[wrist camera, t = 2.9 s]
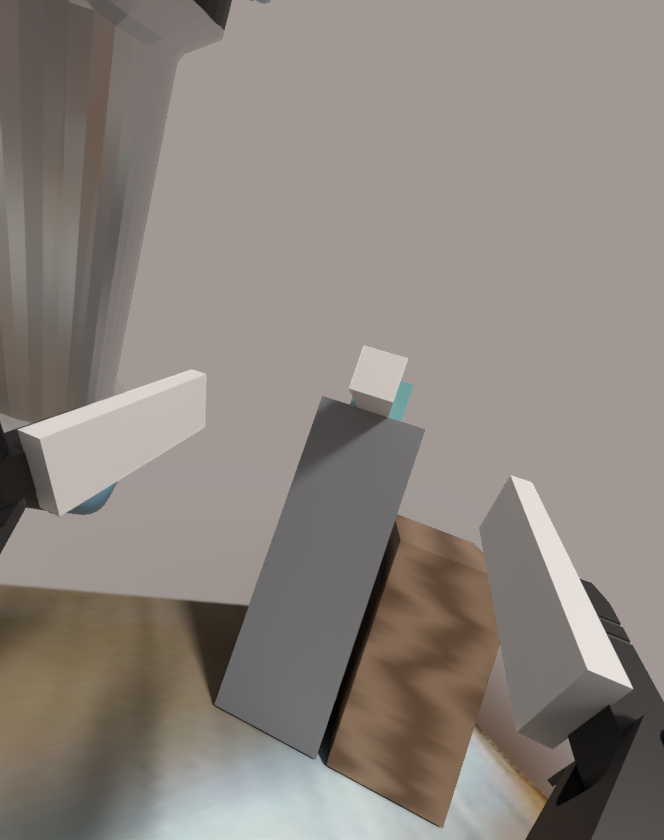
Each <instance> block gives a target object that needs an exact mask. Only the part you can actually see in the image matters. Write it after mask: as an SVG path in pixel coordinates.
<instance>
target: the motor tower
mask: <svg viewBox="0 0 664 840" xmlns="http://www.w3.org/2000/svg"><path fill="white" fill-rule="evenodd" d="M424 432H425V429H422V428H419V427H416V426H412V425H410V424H407V423H404V422H401V421H397V420H394V419H391V418H388V417H385V416H382V415H379V414H376V413H373V412H370V411H367V410H364V409H361V408H358V407H355V406H352V405H348V404H345V403H342V402H339V401H336V400H333V399H330V398H327V397H324V396H322V399H321V401H320V404H319V407H318V410H317V413H316V416H315V419H314V422H313V424H312V427H311V430H310V433H309V436H308V439H307V442H306V444H305V447H304V450H303V453H302V456H301V459H300V461H299V464H298V467H297V470H296V473H295V476H294V479H293V481H292V484H291V487H290V490H289V493H288V496H287V499H286V502H285V504H284V507H283V510H282V513H281V516H280V519H279V521H278V525H277V527H276V530H275V533H274V536H273V539H272V541H271V544H270V547H269V550H268V553H267V556H266V559H265V562H264V564H263V567H262V570H261V573H260V576H259V579H258V582H257V584H256V587H255V590H254V593H253V596H252V599H251V601H250V604H249V607H248V610H247V613H246V616H245V619H244V621H243V624H242V627H241V630H240V633H239V636H238V639H237V641H236V644H235V647H234V650H233V653H232V656H231V659H230V661H229V664H228V667H227V670H226V673H225V676H224V679H223V681H222V684H221V687H220V690H219V693H218V696H217V699H216V701H215V704H214V705H216V706H218V707H220V708H221V709H223V710H225V711H227V712H229V713H231V714H233V715H234V716H236V717H238V718H240V719H242V720H244V721H246V722H247V723H249V724H251V725H253V726H255V727H257V728H258V729H260V730H262V731H264V732H266V733H268V734H270V735H271V736H273V737H275V738H277V739H279V740H281V741H283V742H284V743H286V744H288V745H290V746H292V747H294V748H296V749H297V750H299V751H301V752H303V753H305V754H307V755H308V756H310V757H312V758H314V759H316V757H317V754H318V751H319V748H320V745H321V742H322V739H323V736H324V733H325V730H326V727H327V724H328V721H329V718H330V715H331V712H332V709H333V705H334V702H335V699H336V696H337V693H338V690H339V687H340V684H341V681H342V678H343V675H344V672H345V669H346V666H347V663H348V660H349V657H350V654H351V651H352V648H353V645H354V642H355V639H356V636H357V633H358V630H359V627H360V624H361V621H362V618H363V615H364V612H365V609H366V606H367V603H368V600H369V597H370V594H371V591H372V588H373V585H374V582H375V579H376V576H377V573H378V570H379V567H380V564H381V561H382V558H383V555H384V552H385V549H386V546H387V543H388V540H389V537H390V534H391V531H392V528H393V525H394V522H395V519H396V516H397V513H398V510H399V507H400V504H401V501H402V498H403V495H404V492H405V489H406V486H407V483H408V480H409V477H410V474H411V470H412V468H413V465H414V462H415V459H416V455H417V453H418V450H419V447H420V444H421V440H422V438H423V435H424Z"/></svg>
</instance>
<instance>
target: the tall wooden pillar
mask: <svg viewBox="0 0 664 840" xmlns="http://www.w3.org/2000/svg"><path fill="white" fill-rule="evenodd" d="M499 645H500V639H499V634H498V628H497V623H496V617H495V612H494V606H493V601H492V595H491V590H490V584H489V579H488V573H487V568H486V562H485V557H484V553H483V552H482V551H481V550H480V549H479V548H478V547H477V546H476V545H475V544H473V543H471V542H469V541H466V540H463V539H461V538H458V537H455V536H453V535H450V534H448V533H445V532H442V531H440V530H437V529H434V528H432V527H429V526H426V525H424V524H421V523H418V522H416V521H413V520H410V519H408V518H405V517H403V516H400V515H397V516H396V519H395V522H394V525H393V528H392V531H391V534H390V537H389V540H388V543H387V546H386V549H385V552H384V555H383V558H382V561H381V564H380V567H379V570H378V573H377V576H376V579H375V582H374V585H373V588H372V591H371V594H370V597H369V600H368V603H367V606H366V609H365V612H364V615H363V618H362V621H361V624H360V627H359V630H358V633H357V636H356V639H355V642H354V645H353V648H352V651H351V654H350V657H349V660H348V663H347V666H346V669H345V672H344V675H343V678H342V681H341V684H340V687H339V690H338V696H337V702H336V709H335V715H334V721H333V727H332V734H331V740H330V746H329V752H328V759H327V766H329V767H331V768H333V769H334V770H336V771H338V772H340V773H342V774H344V775H346V776H347V777H349V778H351V779H353V780H355V781H357V782H358V783H360V784H362V785H364V786H366V787H368V788H370V789H371V790H373V791H375V792H377V793H379V794H381V795H383V796H384V797H386V798H388V799H390V800H392V801H394V802H396V803H397V804H399V805H401V806H403V807H405V808H407V809H408V810H410V811H412V812H414V813H416V814H418V815H420V816H421V817H423V818H425V819H427V820H429V821H431V822H433V823H434V824H436V825H438V826H440V827H442V828H443V826H444V822H445V819H446V816H447V813H448V809H449V806H450V803H451V800H452V797H453V793H454V790H455V787H456V784H457V780H458V777H459V774H460V771H461V768H462V764H463V761H464V758H465V755H466V751H467V748H468V745H469V742H470V739H471V735H472V732H473V729H474V726H475V722H476V719H477V715H478V712H479V709H480V706H481V703H482V700H483V697H484V693H485V690H486V687H487V684H488V680H489V677H490V674H491V671H492V667H493V664H494V661H495V658H496V654H497V651H498V648H499Z"/></svg>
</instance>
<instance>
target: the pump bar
mask: <svg viewBox="0 0 664 840" xmlns="http://www.w3.org/2000/svg"><path fill="white" fill-rule="evenodd" d="M407 361H408V358H405V357H402V356H398V355H395V354H391V353H388V352H384V351H381V350H378V349H374V348H371V347H367V346H363V349H362V352H361V355H360V358H359V360H358V363H357V366H356V369H355V372H354V375H353V378H352V381H351V384H350V387H349V390H350V392H351V394H352V400H351V403H350V405H352V406H355V407H358V408H361V409H364V410H367V411H370V412H373V413H376V414H379V415H382V416H385V417H388V418H391V419H394V420H397V421H401V420H402V417H403V414H404V411H405V408H406V405H407V402H408V399H409V397H410V393H411V391H412V388H413V385H412V384H409V383H405V382H402V381H401V379H402V376H403V373H404V370H405V367H406V364H407Z"/></svg>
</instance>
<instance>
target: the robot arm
mask: <svg viewBox="0 0 664 840" xmlns="http://www.w3.org/2000/svg"><path fill="white" fill-rule="evenodd" d="M251 1H252V0H251ZM257 1H258V2H260V3H264V4H265V3H267V2H270V1H271V0H257ZM231 2H232V0H0V553H1V551H2V550H3V547H4V546H5V544H6V542H7V541H8V539H9V537H10V535H11V533H12V532H13V530H14V528H15V526H16V524H17V523H18V521H19V519H20V517H21V515H22V513H23V512H24V510H25V507H26V508H33V509H40V510H46V511H48V512H50V513H53V514H55V515H57V516H59V517H60V516H62V515H63V514H65V513H72V514H81V515H86V514H91V513H94V512H96V511H98V510H99V509H101V508H102V507H103V506H104V504H105V503H106V502H107V500H108V498H109V497H110V495H111V493H112V491H113V489H114V487H115V486H116V484H117V482H118V481H119V480H120V479H122V478H123V477H125V476H127V475H128V474H130V473H132V472H133V471H135V470H136V469H138V468H139V467H141V466H143V465H144V464H146V463H148V462H149V461H151V460H153V459H154V458H156V457H157V456H159V455H161V454H162V453H164V452H166V451H167V450H169V449H170V448H172V447H174V446H175V445H177V444H179V443H180V442H182V441H183V440H185V439H187V438H188V437H189V436H192V435H193V434H195V433H196V432H198V431H200V430H201V429H203V428H204V427H205V408H206V374H204V373H201V372H198V371H195V370H188V371H185V372H183V373H180V374H177V375H174V376H171V377H168V378H165V379H163V380H159V381H157V382H154V383H151V384H148V385H145V386H142V387H139V388H137V389H133V390H130V391H128V392H126V390H125V388H124V387H123V385H122V384H121V383H120V382H119V380H118V379H116V376H117V371H118V365H119V361H120V356H121V351H122V345H123V340H124V335H125V330H126V325H127V320H128V314H129V309H130V304H131V299H132V294H133V289H134V284H135V279H136V273H137V268H138V263H139V258H140V252H141V247H142V242H143V237H144V232H145V227H146V222H147V217H148V211H149V206H150V201H151V196H152V191H153V186H154V180H155V175H156V170H157V165H158V159H159V155H160V150H161V144H162V139H163V134H164V129H165V124H166V119H167V113H168V108H169V103H170V98H171V92H172V87H173V82H174V77H175V72H176V67H177V62H178V61H179V60H180V59H181V58H182V56H183V55H184V54H186V53H188V52H191V51H194V50H196V49H199V48H201V47H204V46H207V45H209V44H212V43H215V42H217V41H220V40H222V37H223V33H224V30H225V26H226V22H227V18H228V14H229V10H230V6H231ZM479 529H480V535H481V540H482V546H483V551H484V557H485V562H486V568H487V573H488V579H489V584H490V590H491V595H492V601H493V606H494V612H495V617H496V623H497V628H498V634H499V639H500V645H501V650H502V656H503V661H504V667H505V672H506V678H507V683H508V689H509V694H510V699H511V705H512V711H513V716H514V721H515V727H516V732H517V733H519V734H521V735H523V736H526V737H528V738H530V739H532V740H534V741H536V742H538V743H540V744H542V745H545V746H547V747H549V748H551V749H553V748H555V747H556V746H558V745H559V744H560V743H562V742H563V741H564V740H566V739H567V738H569V742H570V745H571V749H572V752H573V756H574V759H575V761H574V762H573V763H571V764H570V765H568V766H567V767H565V768H564V769H562V770H561V771H559V772H558V773H556V774H555V775H553V776H552V777H551V778H549V779H548V781H549V783H550V784H551V785H552V786H554V785H556V784H557V785H556V787H555V788H554V790H553V792H552V794H551V795H550V797H549V799H548V801H547V802H546V804H545V806H544V808H543V809H542V811H541V813H540V815H539V817H538V818H537V820H536V822H535V824H534V825H533V827H532V829H531V831H530V832H529V834H528V836H527V838H526V839H525V840H664V702H663V700H662V698H661V696H660V694H659V693H658V691H657V689H656V687H655V685H654V683H653V682H652V680H651V678H650V676H649V674H648V672H647V671H646V669H645V667H644V665H643V663H642V662H641V660H640V658H639V656H638V654H637V652H636V651H635V649H634V647H633V645H631V644H630V640H629V638H628V636H627V634H626V632H625V631H624V629H623V628H622V627H620V621H619V620H618V618H617V616H616V614H615V612H614V611H613V609H612V607H611V605H610V603H609V602H608V601H607V600H606V599H605V598H604V596H603V595H602V594H601V593H600V592H599V591H598V590H597V588H596V587H595V586H594V585H593V584H592V583H590V582H587V581H584V580H582V579H579V577H578V575H577V573H576V571H575V569H574V567H573V565H572V563H571V561H570V559H569V557H568V555H567V553H566V551H565V549H564V547H563V545H562V543H561V540H560V539H559V537H558V534H557V532H556V530H555V528H554V526H553V524H552V522H551V520H550V518H549V516H548V514H547V512H546V510H545V508H544V506H543V504H542V502H541V500H540V498H539V496H538V494H537V492H536V490H535V488H534V486H533V484H532V482H529V481H526V480H523V479H520V478H517V477H514V476H510V477H509V479H508V480H507V482H506V484H505V485H504V487H503V489H502V490H501V492H500V494H499V495H498V497H497V499H496V500H495V502H494V504H493V506H492V507H491V509H490V511H489V512H488V514H487V516H486V517H485V519H484V521H483V522H482V524H481V526H480V527H479Z"/></svg>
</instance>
